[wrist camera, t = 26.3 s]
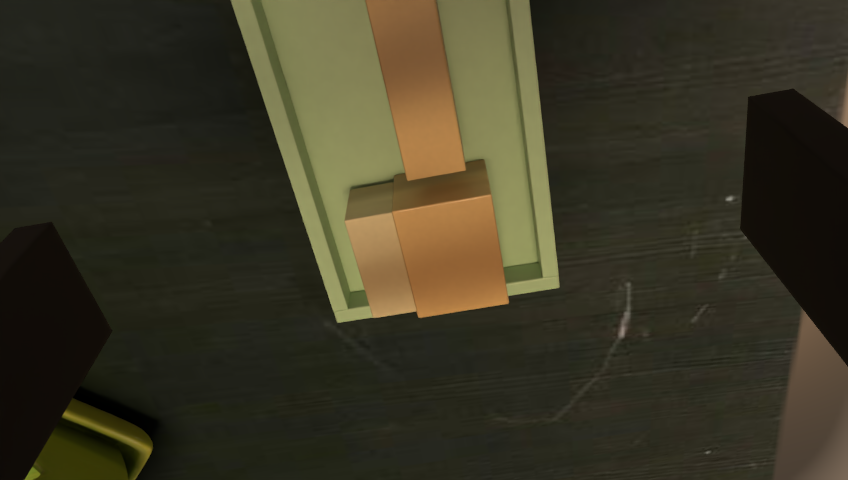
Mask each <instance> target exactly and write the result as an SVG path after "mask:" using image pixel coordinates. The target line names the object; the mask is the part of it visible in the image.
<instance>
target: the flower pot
mask: <svg viewBox="0 0 848 480" xmlns="http://www.w3.org/2000/svg"><path fill="white" fill-rule="evenodd" d="M152 449H153V443H152V441H151V439H150V437H149V436H148V435H147V434H146V433H145V432H144V431H143V430H142V429H141V428H139V427H137V426H136V425H134V424H132V423H130V422H128V421H125V420H123V419H121V418H118V417H116V416H114V415H112V414H109V413H107V412H105V411H102V410H100V409H97V408H95V407H93V406H90V405H88V404H86V403H83V402H81V401H78V400H76V399H73V398H72V400H71V402H70V404H69V405H68V407H67V409H66V410H65V412H64V414H63V415H62V417H61V419H60V420H59V422H58V424H57V426H56V427H55V429H54V431H53V432H52V434H51V436H50V437H49V439H48V441H47V442H46V444H45V446H44V448H43V449H42V451H41V453H40V454H39V456H38V458H37V459H36V461H35V463H34V465H33V466H32V468H31V470H30V471H29V473H28V475H27V476H26V478H25V480H135V479H136V478H137V476H138V475H139V473H140V472H141V470H142V468H143V467H144V465H145V463H146V462H147V460H148V458H149V456H150V454H151V452H152Z"/></svg>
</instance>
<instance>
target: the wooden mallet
mask: <svg viewBox="0 0 848 480" xmlns="http://www.w3.org/2000/svg"><path fill="white" fill-rule="evenodd" d="M365 2H366V7H367V11H368V15H369V20H370V24H371V28H372V33H373V37H374V41H375V45H376V50H377V54H378V58H379V63H380V67H381V71H382V76H383V80H384V84H385V88H386V93H387V97H388V101H389V106H390V110H391V114H392V119H393V123H394V127H395V131H396V136H397V140H398V144H399V149H400V153H401V157H402V162H403V166H404V170H405V174H399V175H395V176H394V182H391V183H385V184H380V185H374V186H369V187H363V188H358V189H352V190H350V192H349V198H348V203H347V209H346V215H345V220H344V222H345V225H346V229H347V232H348V235H349V239H350V242H351V246H352V249H353V252H354V256H355V259H356V262H357V266H358V269H359V273H360V276H361V279H362V283H363V286H364V289H365V293H366V296H367V299H368V303H369V306H370V310H371V313H372V316H373V318H378V317H384V316H390V315H396V314H403V313H409V312H415V311H417V315H418V317H419V318H422V317H428V316H434V315H441V314H447V313H453V312H459V311H466V310H472V309H478V308H484V307H491V306H497V305H503V304H508V303H509V299H508V292H507V286H506V280H505V274H504V268H503V261H502V255H501V249H500V243H499V237H498V231H497V224H496V218H495V212H494V206H493V200H492V194H491V189H490V184H489V179H488V173H487V168H486V163H485V160H484V159H482V160H477V161H471V162H466V163H465V158H464V151H463V144H462V138H461V132H460V127H459V121H458V116H457V110H456V105H455V99H454V93H453V88H452V82H451V77H450V71H449V65H448V60H447V54H446V49H445V43H444V37H443V32H442V26H441V21H440V15H439V10H438V4H437V0H365Z"/></svg>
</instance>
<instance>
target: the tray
mask: <svg viewBox="0 0 848 480" xmlns="http://www.w3.org/2000/svg"><path fill="white" fill-rule="evenodd" d="M231 3H232V6H233V9H234V12H235V15H236V18H237V21H238V24H239V27H240V30H241V33H242V36H243V39H244V42H245V45H246V48H247V51H248V54H249V57H250V60H251V63H252V66H253V69H254V72H255V76H256V79H257V82H258V85H259V88H260V91H261V94H262V97H263V100H264V103H265V106H266V109H267V112H268V115H269V118H270V121H271V124H272V127H273V130H274V133H275V136H276V139H277V142H278V145H279V148H280V151H281V154H282V157H283V160H284V163H285V166H286V170H287V173H288V176H289V179H290V182H291V185H292V188H293V191H294V194H295V197H296V200H297V203H298V206H299V209H300V212H301V215H302V218H303V221H304V224H305V227H306V230H307V233H308V236H309V239H310V242H311V245H312V248H313V251H314V254H315V257H316V260H317V264H318V267H319V270H320V273H321V276H322V279H323V282H324V285H325V288H326V291H327V294H328V297H329V300H330V303H331V306H332V309H333V311H334V314H335V317H336V320H337V322H338V323H340V322H346V321H353V320H359V319H365V318H372V317H373V316H372V313H371V310H370V306H369V303H368V299H367V296H366V293H365V289H364V286H363V283H362V279H361V276H360V273H359V269H358V266H357V262H356V259H355V256H354V252H353V249H352V246H351V242H350V239H349V235H348V232H347V229H346V225H345V222H344V220H345V215H346V209H347V203H348V198H349V192H350V190H352V189H358V188H363V187H369V186H374V185H380V184H385V183H391V182H394V176H395V175H399V174H405V170H404V166H403V162H402V157H401V153H400V149H399V144H398V140H397V136H396V131H395V127H394V123H393V119H392V114H391V110H390V106H389V101H388V97H387V93H386V88H385V84H384V80H383V76H382V71H381V67H380V63H379V58H378V54H377V50H376V45H375V41H374V37H373V33H372V28H371V24H370V20H369V15H368V11H367V7H366V2H365V0H231ZM437 4H438V10H439V15H440V21H441V26H442V32H443V37H444V43H445V49H446V54H447V60H448V65H449V71H450V77H451V82H452V88H453V93H454V99H455V105H456V110H457V116H458V121H459V127H460V132H461V138H462V144H463V151H464V158H465V163H466V162H471V161H477V160H482V159H484V160H485V163H486V168H487V173H488V179H489V184H490V189H491V194H492V200H493V206H494V212H495V218H496V224H497V231H498V237H499V243H500V249H501V255H502V261H503V268H504V274H505V280H506V286H507V292H508V296H511V295H517V294H523V293H530V292H536V291H542V290H548V289H555V288H559V286H560V284H559V276H558V265H557V255H556V246H555V237H554V227H553V218H552V209H551V199H550V190H549V180H548V171H547V162H546V152H545V143H544V134H543V124H542V115H541V106H540V96H539V87H538V78H537V68H536V59H535V50H534V40H533V31H532V22H531V12H530V3H529V0H437Z"/></svg>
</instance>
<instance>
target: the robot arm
mask: <svg viewBox="0 0 848 480" xmlns="http://www.w3.org/2000/svg"><path fill="white" fill-rule="evenodd" d="M740 229H741V231H742V232H743V233H744V234H745V236H746V237H747V238H748V239H749V241H750V242H751V243H752V245H753V246H754V247H755V248H756V250H757V251H758V252H759V254H760V255H761V256H762V257H763V259H764V260H765V261H766V262H767V264H768V265H769V266H770V268H771V269H772V270H773V271H774V273H775V274H776V275H777V277H778V278H779V279H780V280H781V282H782V283H783V284H784V285H785V287H786V288H787V289H788V291H789V292H790V293H791V294H792V296H793V297H794V298H795V300H796V301H797V302H798V303H799V305H800V306H801V307H802V308H803V310H804V311H805V312H806V314H807V315H808V316H809V317H810V319H811V320H812V321H813V322H814V324H815V325H816V326H817V328H818V329H819V330H820V331H821V333H822V334H823V335H824V337H825V338H826V339H827V340H828V342H829V343H830V344H831V345H832V347H833V348H834V349H835V350H836V352H837V353H838V354H839V356H840V357H841V358H842V359H843V361H844V362H845V363H846V365H847V366H848V128H847V127H845V126H844V125H843V124H841V123H840V122H838V121H837V120H836V119H834V118H833V117H832V116H830V115H829V114H827V113H826V112H825V111H823V110H822V109H821V108H819V107H818V106H816V105H815V104H814V103H812V102H811V101H810V100H808V99H807V98H805V97H804V96H803V95H801V94H800V93H799V92H797V91H796V90H794V89H789V90H784V91H778V92H773V93H767V94H761V95H756V96H750V97H748V111H747V128H746V144H745V161H744V177H743V193H742V210H741V226H740ZM111 332H112V330H111V328H110V326H109V324H108V322H107V321H106V319H105V317H104V315H103V313H102V312H101V310H100V308H99V306H98V304H97V303H96V301H95V299H94V297H93V295H92V294H91V292H90V290H89V288H88V286H87V285H86V283H85V281H84V279H83V277H82V276H81V274H80V272H79V270H78V268H77V267H76V265H75V263H74V261H73V259H72V257H71V256H70V254H69V252H68V250H67V248H66V247H65V245H64V243H63V241H62V239H61V238H60V236H59V234H58V232H57V230H56V229H55V227H54V225H53V223H52V222H48V223H43V224H37V225H31V226H26V227H20V228H15V229H14V230H13V231H12V232H11V233H10V234H9V235H8V236H7V237H6V238H5V239H4V240H3V241H2V242H1V243H0V480H25V478H26V476H27V475H28V473H29V471H30V470H31V468H32V466H33V465H34V463H35V461H36V459H37V458H38V456H39V454H40V453H41V451H42V449H43V448H44V446H45V444H46V442H47V441H48V439H49V437H50V436H51V434H52V432H53V431H54V429H55V427H56V426H57V424H58V422H59V420H60V419H61V417H62V415H63V414H64V412H65V410H66V409H67V407H68V405H69V404H70V402H71V400H72V398H73V397H74V395H75V393H76V392H77V390H78V388H79V387H80V385H81V383H82V382H83V380H84V378H85V376H86V375H87V373H88V371H89V370H90V368H91V366H92V365H93V363H94V361H95V359H96V358H97V356H98V354H99V353H100V351H101V349H102V348H103V346H104V344H105V343H106V341H107V339H108V337H109V336H110V334H111Z"/></svg>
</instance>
